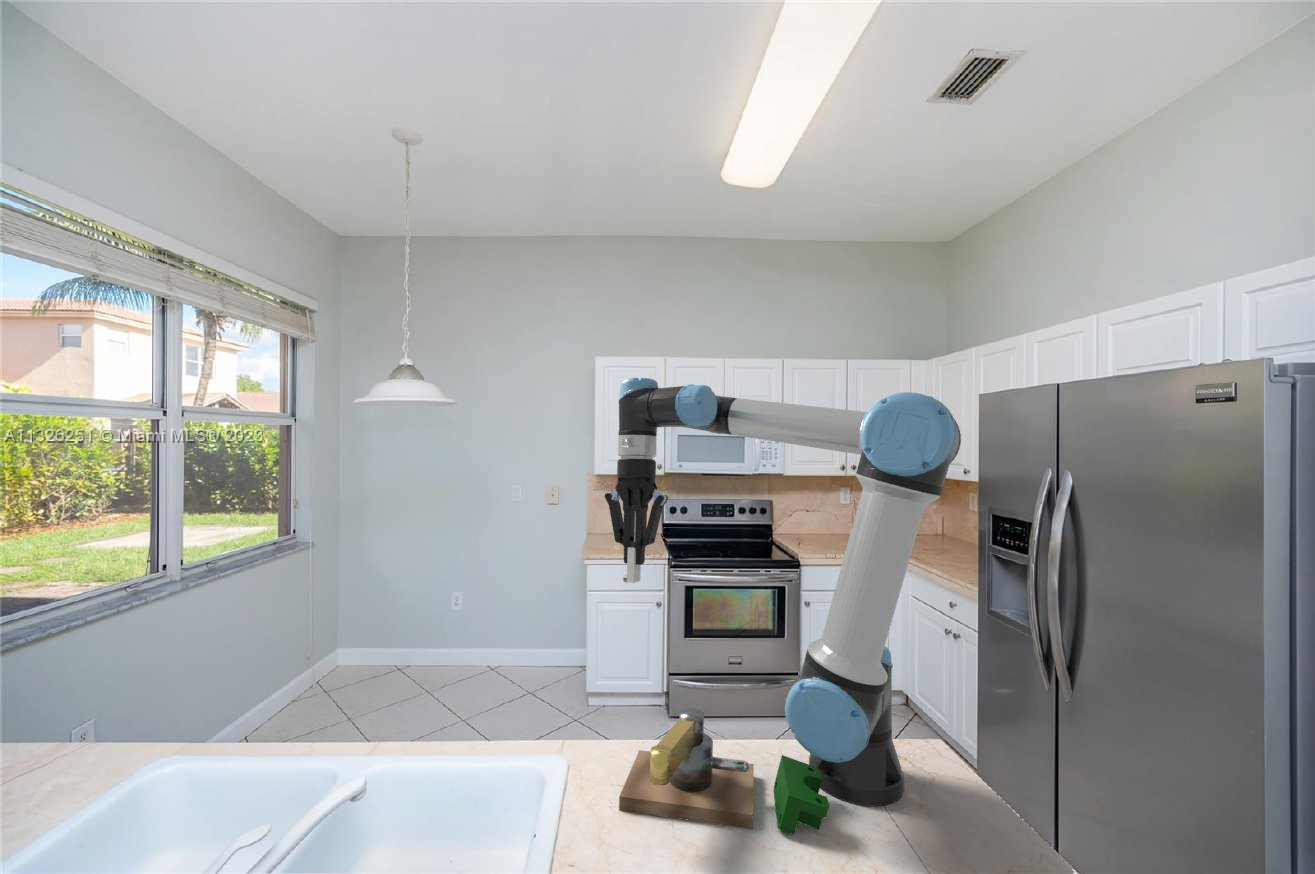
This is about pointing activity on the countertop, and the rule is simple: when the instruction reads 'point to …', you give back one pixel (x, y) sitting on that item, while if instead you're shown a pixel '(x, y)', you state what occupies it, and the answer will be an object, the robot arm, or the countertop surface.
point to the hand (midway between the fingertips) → (633, 581)
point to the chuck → (702, 767)
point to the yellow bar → (676, 745)
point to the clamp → (798, 795)
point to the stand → (691, 796)
